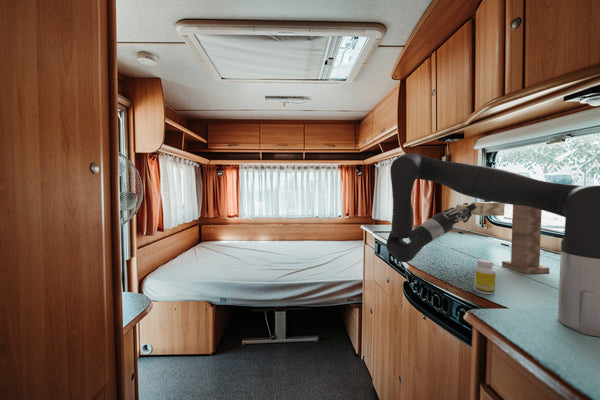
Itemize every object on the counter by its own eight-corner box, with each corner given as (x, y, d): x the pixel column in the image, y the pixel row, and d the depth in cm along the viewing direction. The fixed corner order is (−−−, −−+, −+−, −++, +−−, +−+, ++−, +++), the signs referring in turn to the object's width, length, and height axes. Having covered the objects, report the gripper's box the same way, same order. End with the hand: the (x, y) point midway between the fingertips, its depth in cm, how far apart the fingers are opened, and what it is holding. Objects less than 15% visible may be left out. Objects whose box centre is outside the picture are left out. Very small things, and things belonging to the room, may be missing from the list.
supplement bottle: (498, 295, 73) (499, 264, 73) (478, 294, 75) (479, 262, 74) (488, 288, 79) (489, 259, 78) (470, 287, 80) (471, 258, 79)
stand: (527, 275, 91) (530, 193, 90) (497, 265, 103) (500, 193, 102) (554, 273, 93) (557, 193, 92) (522, 264, 105) (524, 193, 104)
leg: (464, 215, 91) (464, 202, 91) (454, 214, 96) (454, 202, 96) (504, 215, 93) (504, 202, 93) (492, 214, 98) (492, 202, 98)
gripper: (443, 221, 85) (482, 197, 87) (419, 217, 99) (453, 196, 101) (453, 239, 86) (491, 215, 88) (427, 232, 100) (461, 211, 101)
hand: (470, 205), depth 94 cm, fingers closed on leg, 2 cm apart
